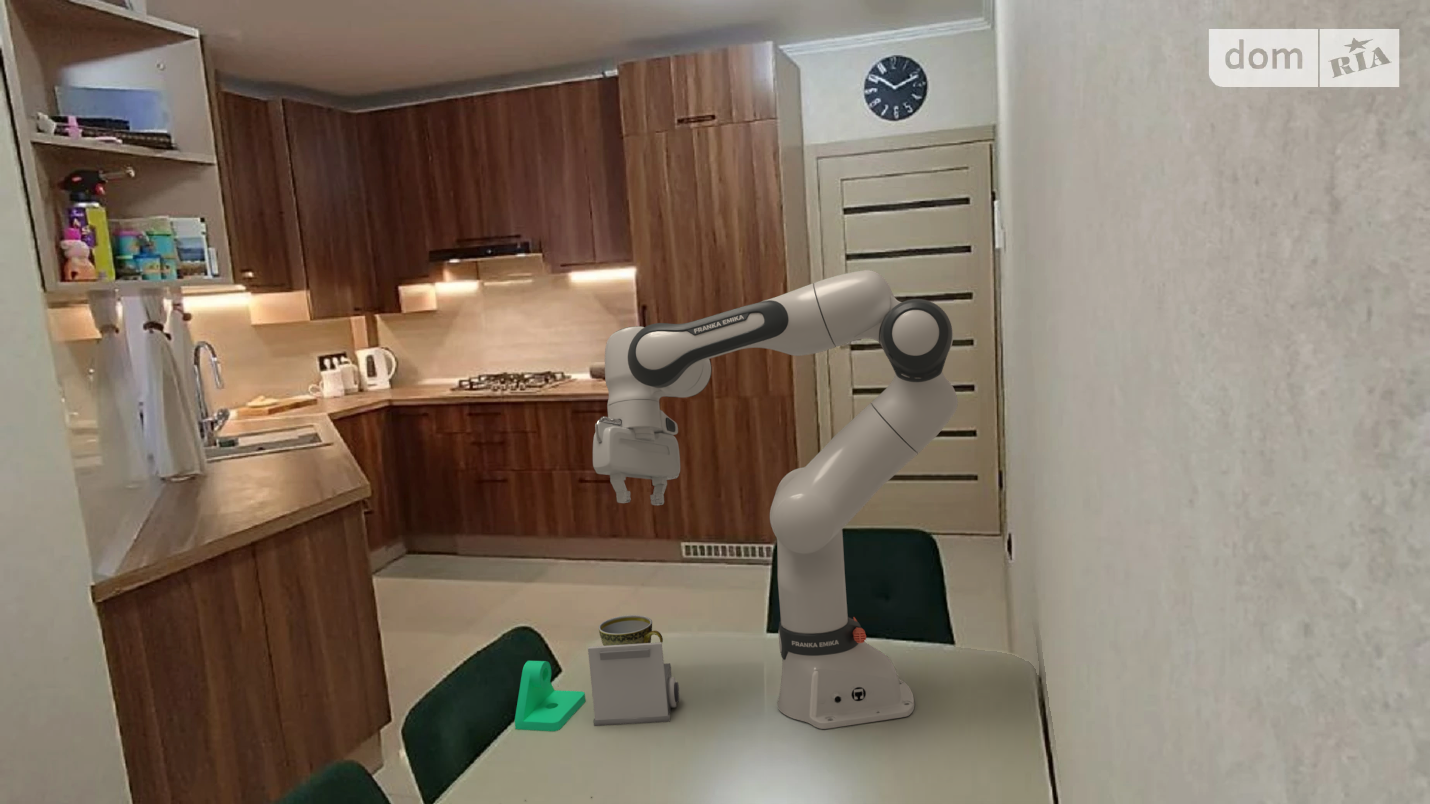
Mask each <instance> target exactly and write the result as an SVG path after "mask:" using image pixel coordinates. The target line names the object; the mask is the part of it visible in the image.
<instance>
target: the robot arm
mask: <svg viewBox="0 0 1430 804" xmlns="http://www.w3.org/2000/svg"><path fill="white" fill-rule="evenodd" d="M953 331H954V330H953V326H952V323H951V320H950V318H949V316H948V315H947V313H946V312H945V310H943V308H942V307H940V306H939V305H938V304H936V303H935V302H933V301H930V300H926V299H921V298H920V299H919V298H913V299H907V300H905V301H899V300H898V299H897V298H896V297H895V296H894V294H893V292H892V289H891V286H890V285H889V283H888V282H887V280H886V279H885V277H883V276H882V275H881V274H880V273H878V272H877V271H875V270H869V269H864V270H858V271H853V272H852V271H851V272H847V273H843V274H837V275H835V276H831V277H828V278H825V279H821V280H818V281H815V282H814V283H810V284H807V285H804V286H802V287H799V288H796V289H794V290H791V291H789V292H786V293H783V294H781V295H778V296H776V297H772V298H769V299H764V300H762V301H759V302H756V303H752V304H747V305H743V306H741V307H737V308H734V309H730V310H727V311H724V312H721V313H720V312H719V313H715V314H714V315H711V316H706V317H704V318H699V319H697V320H694V321H690V322H685V323H666V322H656V323H652V324H648V325H646V326H645V327H644V326H638V325H637V326H628V327H627V326H626V327H624V328H621V329H618V330H616V331H615V332H613V333H612V334H611V335H610V336H609V337H608V339H607V340H606V341H607V342H606V344H605V349H604V377H605V379H604V380H605V385H606V386H605V387H607V393H608V400H607V405H606V407H607V416H601V417H600V418H599V419H597V422H596V423H595V425H594V427H595V428H594V430H595V433H593V434H594V435H593V442H592V467H593V469H594V471H595V473H596V474H598V475H605V476H606V475H607V476H609V478H610V479H609V481H610V484H611V485H612V488H613V490H614V492H615V494H616V496H615V497H616V503H619V504H626V503H630V502H631V500H632V499H631V491H630V490H628V489H627V486H626V484H625V481H626V480H627V479H626V478H627V477H628V478H634V479H644V480H651V482H652V486H654V489H653V493H652V494H650V495H649V497H650V505H652V506H662V505H664V504H665V496H664V494H665V491H666V489H667V486H668V481H669V480H674V479H677V478H679V476H680V472H681V458H680V457H681V456H680V448H679V442H678V440H677V438H676V436H674V435H677V434H678V433H679V428H678V427H679V426H678V423H677V422H676V421H674V420H673V419H672V418H670V417H669V416H668V415H667V414H666V413H665V412H664V411H663V410H662V409H660V407H661V406H660V399H661V398H662V397H666V398H690V397H694V396H696V395H698V394H699V393H701V392H702V391H704V389H705V388H706V387H707V386H708V384H709V382H710V380H711V377H712V362H711V359H713V358H716V357H720V356H724V355H726V354H729V353H733V352H736V351H740V350H743V349H744V350H745V349H753V348H759V349H768V350H772V351H776V352H779V353H780V352H781V353H784V354H786V355H789V356H790V355H791V356H796V357H800V356H808V355H815V354H819V353H824V352H826V351H829V350H832V349H835V348H838V347H841V346H843V345H845V344H848V343H851V342H855V341H859V340H863V339H864V340H866V339H870V340H874V341H876V342H878V344H879V345H880V346H881V348H882V351H883V352H884V355H885V356H886V358H887V359H888V361H889V363H890V365H891V367H892V369H893V371H894V376H893V379H892V380H891V382H890V383H889V384H888V386H887V387H886V388H885V389H884V390H883V391H882V392H881V393H880V394H879V395H878V396H876V397H875V398H874V399H873V400H872V401H871V402H870V403H868V405H866V406H865V407H864V408H863V409H862V410H861V411H860V412H858V413H857V415H856V416H854V418H852V419H851V420H850V421H849V422H848V423H847V424H846V425H845V426H843V428H841V429H840V430H839V431H838V432H837V433H836V434H835V435H834V436H833V437H832V438H831V439H830V441H828V442H827V444H826V445H825V446H824V447H823V448H822V449H820V451H819V452H818V453H817V454H816V455H815V456H814V457H813V458H812V459H811V460H810V461H809V463H807V464H806V466H804V467H799V468H795V469H793V470H792V471H790V472H788V473H786V475H784V476H783V478H782V479H781V481H780V482H779V484H778V485H777V487H776V490H775V494H774V496H773V499H772V503H771V506H770V508H769V509H770V510H769V523H770V527H771V528H772V532H773V534H774V535H775V537H776V543H777V544H776V546H777V551H776V552H777V587H778V600H779V601H778V602H779V612H780V621H779V622H778V631H777V632H778V644H779V645H778V646H779V653H780V657H781V659H782V663H781V664H782V666H781V667H782V668H781V682H780V689H779V695H778V697H777V698H778V699H777V702H776V703H777V706H776V707H777V708H778V710H779V711H780V712H781V713H782V714H784V715H785V716H787V717H789V718H791V719H794V720H798V721H801V722H804V723H805V722H806V723H808V724H810V725H811V726H813V727H815V728H818V729H822V730H827V729H833V728H839V727H846V726H853V725H860V724H867V723H873V722H879V721H880V722H881V721H886V720H893V719H900V718H905V717H909V716H910V715H911V714H912V713H913V712H914V709H915V698H914V695H913V691H912V690H911V688H910V686H909V685H908V684H907V683H906V682H905V681H904V680H902V679H900V678H899V676H898V673H897V669H896V668H895V666H894V663H893V662H892V660H891V659H890V658H889V657H888V656H887V655H886V653H884V652H882V651H880V650H878V648H877V649H876V648H875V647H874V646H873V645H871V644H869V643H867V642H866V641H865V640H867V635H866V631H865V629H864V628H862V627H861V624H860V622H858V620H857V619H856V617H855V616H853V618H852V617H849V616H848V604H847V590H846V589H847V588H846V586H847V585H846V574H845V555H844V537H843V536H844V535H843V534H844V533H843V528H845V527H846V525H848V524H849V523H850V521H852V520H853V519H854V518H855V516H856V515H857V514H858V513H859V512H860V511H861V510H862V509H863V508H864V507H865V506H866V504H867V503H868V502H869V501H871V499H872V498H873V497H874V495H875V494H876V493H877V492H878V491H879V490H880V489H881V488H882V487H883V486H884V485H885V484H886V483H887V482H888V481H889V480H891V479H892V478H893V477H894V476H895V475H896V474H898V473H899V472H900V471H901V470H902V469H903V468H905V466H906V465H908V463H910V462H911V461H912V460H913V459H914V458H915V457H916V456H917V455H918V454H920V453H921V452H922V451H923V450H924V449H925V448H926V447H927V446H928V445H929V444H931V442H932V441H934V439H935V438H937V436H938V435H939V433H940V432H941V431H943V429H944V428H945V427H946V425H947V424H948V423H949V422H950V420H951V419H952V418H953V416H954V415H955V413H956V412H957V408H958V403H959V402H958V401H959V400H958V396H957V392H956V390H955V388H954V386H953V385H952V384H951V382H950V381H949V379H947V377H946V376H945V375H944V372H943V370H944V366H945V363H946V359H947V357H948V355H949V353H950V351H951V349H952V346H953V341H954V332H953Z"/></svg>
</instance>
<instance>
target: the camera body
mask: <svg viewBox="0 0 1430 804" xmlns="http://www.w3.org/2000/svg"><path fill="white" fill-rule="evenodd" d="M664 671H665V682H666V693H667V704H668V714H670V715H671V709H672V708H677V704H678V703H679V702H680V685H679V682H678V681H677V680H676V677H675V676H674V677H673V676H672V667H671V663H670V662H667V663H664Z"/></svg>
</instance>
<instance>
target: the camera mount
mask: <svg viewBox="0 0 1430 804" xmlns="http://www.w3.org/2000/svg"><path fill="white" fill-rule="evenodd" d="M551 679H552V666H551V664H550V662H549V661H548V660H547V661H546V660H527V661H526V662H525V664H524V665H523V668H522V672H521V678H520V684H519V690H518V697H517V705H516V709H515V716H514V727H515V730H523V731H527V730H528V731H537V732H538V731H540V732H557V731H560V730H561V729H562V728H563V727H564V726H565V725H566V724H567V722H569V720H571V718H572V717H573V716H574V715H575V714H576V712H578V711H579V710H580V709H581V707H582V706H583V705H584V704H585V703H586V693H585V692H584V691H582V690H581V691H579V690H578V691H577V690H562V689H560V690H559V689H558V690H555V688H554V686H553V685H552V682H551Z"/></svg>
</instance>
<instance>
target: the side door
mask: <svg viewBox="0 0 1430 804" xmlns="http://www.w3.org/2000/svg"><path fill="white" fill-rule="evenodd" d="M587 652H588V653H587V654H588V663H589V665H588V666H589V672H590V674H589V675H590V683H591V692H592V693H591V694H592V703H593V713H594V718H593V726H594V727H598V726H599V727H600V726H614V725H617V726H618V725H634V724H648V723H649V724H650V723H651V724H653V723H666V722H670V720H671V713H670V714H668V704H667V693H666V682H665V671H664V664H665V660H664V650H663V642H660V641H658V642H651V643H641V644H625V645H609V646H603V645H597V646H588V647H587Z"/></svg>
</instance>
